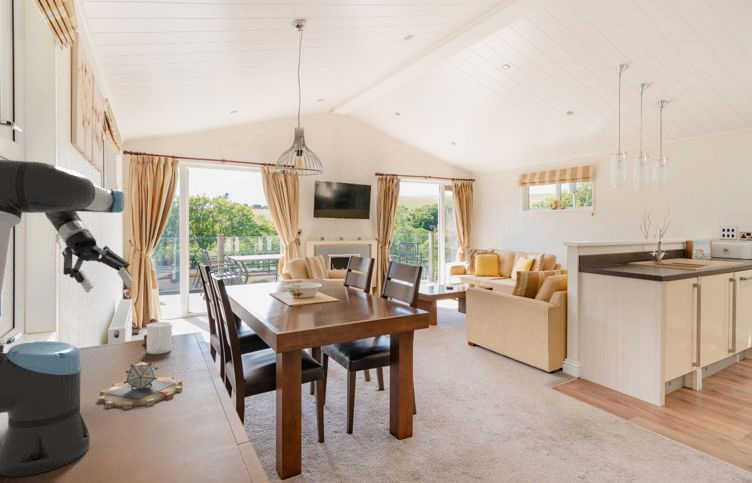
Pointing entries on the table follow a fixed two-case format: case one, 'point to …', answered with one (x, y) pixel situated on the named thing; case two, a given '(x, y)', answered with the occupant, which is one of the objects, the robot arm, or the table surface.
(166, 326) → the mug
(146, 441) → the table surface
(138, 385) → the game die
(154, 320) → the toy fire truck
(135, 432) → the table surface
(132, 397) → the sprocket plate
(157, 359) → the table surface
